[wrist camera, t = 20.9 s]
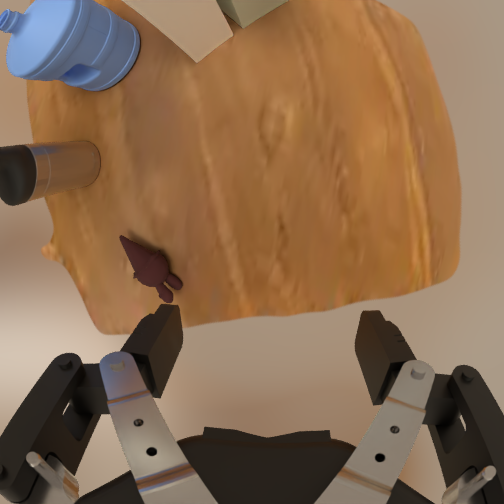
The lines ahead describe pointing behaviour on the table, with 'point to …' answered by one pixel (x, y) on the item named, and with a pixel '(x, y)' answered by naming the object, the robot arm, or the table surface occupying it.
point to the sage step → (248, 9)
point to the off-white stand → (187, 23)
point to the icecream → (151, 269)
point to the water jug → (70, 43)
